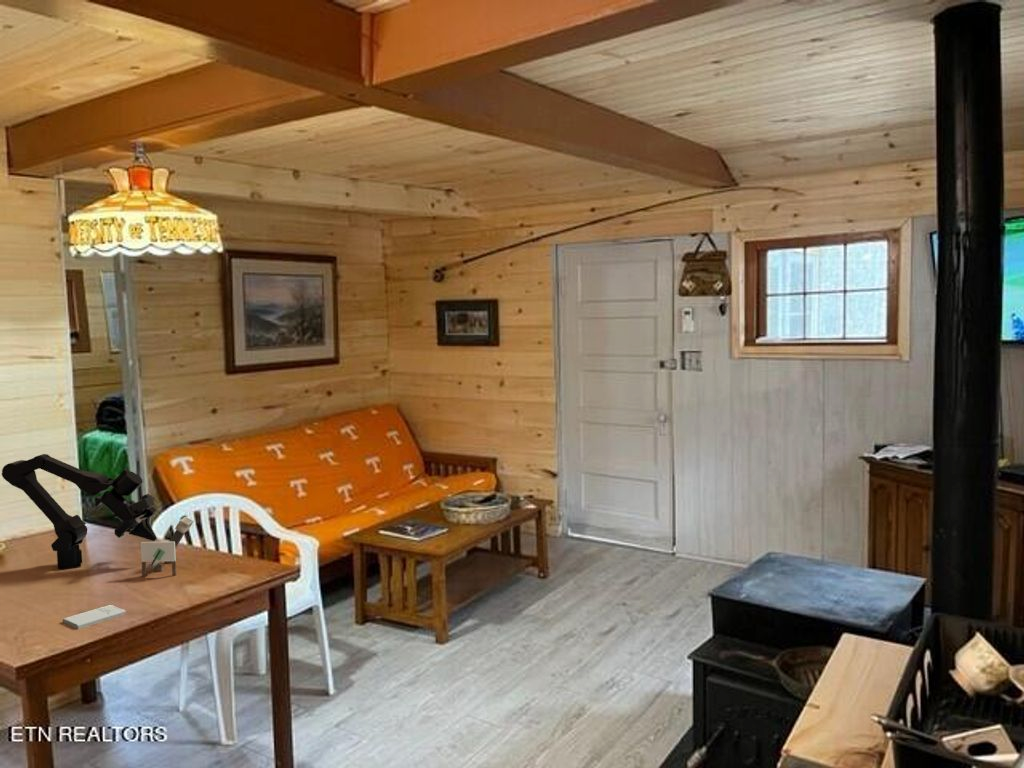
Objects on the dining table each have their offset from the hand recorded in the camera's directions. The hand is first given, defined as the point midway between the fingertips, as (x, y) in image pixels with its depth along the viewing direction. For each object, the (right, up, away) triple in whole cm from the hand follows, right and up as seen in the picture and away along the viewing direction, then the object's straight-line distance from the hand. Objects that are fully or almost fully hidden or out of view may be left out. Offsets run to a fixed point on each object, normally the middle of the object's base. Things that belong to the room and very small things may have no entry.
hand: (155, 539), depth 252 cm
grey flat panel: (+6, -5, -11) cm, 13 cm away
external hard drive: (+4, -13, -44) cm, 46 cm away
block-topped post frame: (+3, -6, -4) cm, 8 cm away
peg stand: (+6, -8, -3) cm, 11 cm away
